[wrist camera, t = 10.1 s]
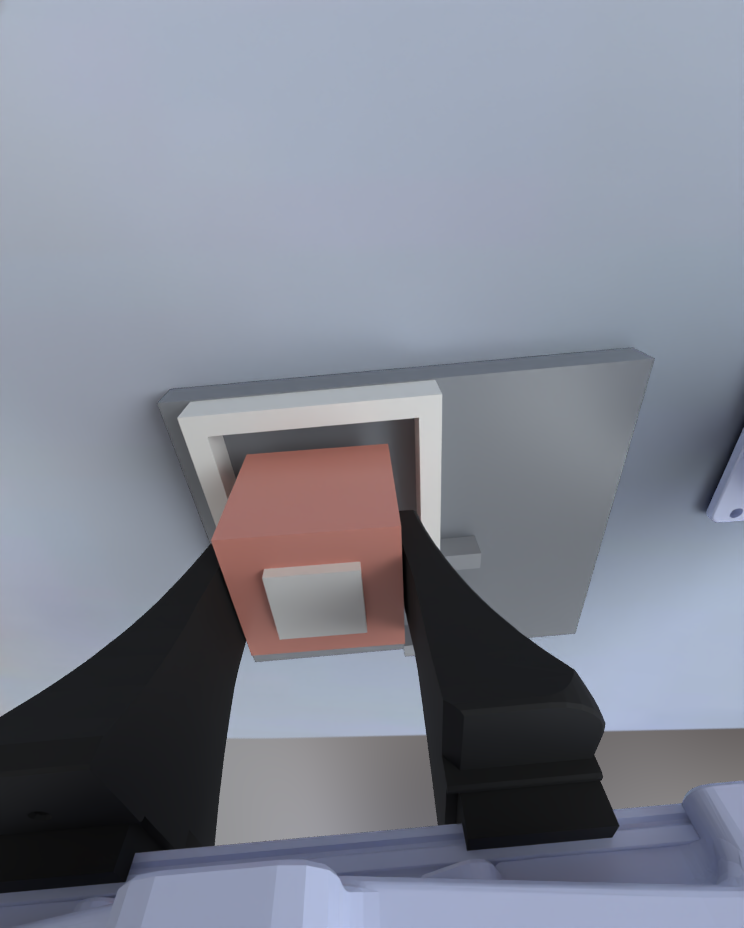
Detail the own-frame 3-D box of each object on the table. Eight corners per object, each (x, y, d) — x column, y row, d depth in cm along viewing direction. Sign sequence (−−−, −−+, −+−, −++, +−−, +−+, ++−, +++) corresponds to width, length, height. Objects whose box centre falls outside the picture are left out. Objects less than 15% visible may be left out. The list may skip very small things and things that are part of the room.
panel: (632, 347, 14) (679, 371, 12) (564, 613, 22) (586, 655, 20) (170, 389, 14) (140, 419, 12) (259, 640, 22) (250, 685, 20)
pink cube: (388, 443, 13) (402, 534, 10) (393, 548, 16) (406, 653, 12) (246, 454, 13) (207, 549, 10) (273, 557, 16) (249, 665, 12)
